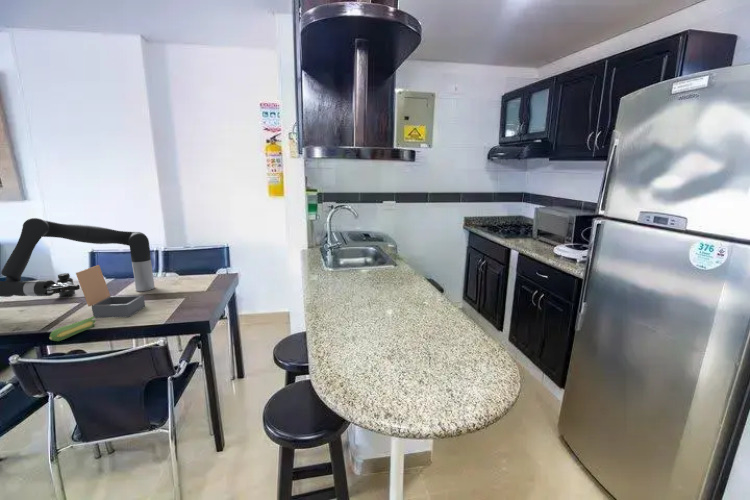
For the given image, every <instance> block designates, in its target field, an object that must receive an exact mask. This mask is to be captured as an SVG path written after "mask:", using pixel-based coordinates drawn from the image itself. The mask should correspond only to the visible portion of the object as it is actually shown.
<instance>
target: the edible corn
mask: <svg viewBox="0 0 750 500" xmlns="http://www.w3.org/2000/svg"><path fill="white" fill-rule="evenodd" d="M96 322H97V320H96V318H95V316H94V317H93V316H91V317H88V318H85V319H82V320H80V321H76V322H73V323H70V324H67V325H64V326H61V327H58V328H55V329H54V330H52V331H51V332H50V334H49V337H48V338H49V340H50V341H53V342H60V341H63V340H65V339H69V338H70V337H73V336H75V335H78V334H80V333H83V332H84V331H87V330H89V329H92V328H94V327H95V325H96V324H95V323H96Z"/></svg>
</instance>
